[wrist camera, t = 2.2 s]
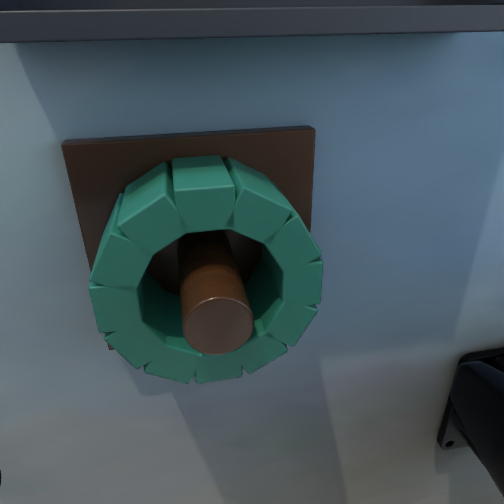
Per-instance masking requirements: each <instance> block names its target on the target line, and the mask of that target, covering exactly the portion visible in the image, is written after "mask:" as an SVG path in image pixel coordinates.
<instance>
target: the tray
mask: <svg viewBox="0 0 504 504" xmlns="http://www.w3.org/2000/svg"><path fill="white" fill-rule="evenodd" d="M495 31H504V0H0V43H25V42H68V41H111V40H153V39H196V38H239V37H282V36H324V35H367V34H410V33H453V32H495Z"/></svg>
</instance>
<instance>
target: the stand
mask: <svg viewBox="0 0 504 504" xmlns="http://www.w3.org/2000/svg"><path fill="white" fill-rule="evenodd" d="M61 147H62V151H63V155H64V160H65V164H66V168H67V173H68V177H69V181H70V185H71V190H72V194H73V198H74V203H75V207H76V211H77V215H78V220H79V224H80V228H81V232H82V237H83V241H84V245H85V250H86V254H87V258H88V262H89V267H90V271H91V272H92V268H93V265H94V262H95V258H96V255H97V252H98V248H99V245H100V242H101V238H102V235H103V232H104V229H105V227H106V225H107V222H108V220H109V218H110V215H111V213H112V211H113V208H114V206H115V204H116V201H117V199H118V197H119V194H120V193H122V194H124V193H125V189H126V187H127V186H128V185H130V184H131V183H132V182H134V181H135V180H137V179H138V178H140V177H141V176H143V175H144V174H146V173H147V172H149V171H150V170H152V169H153V168H155V167H156V166H158V165H159V164H161V163H162V162H166V163H167V164H168V166H169V167H170V168H171V170H172V159H173V158H183V157H198V156H212V155H220V156H221V158H222V160H223V163H224V162H225V160H226V158H227V157H230V158H232V159H234V160H236V161H238V162H240V163H242V164H244V165H246V166H248V167H250V168H252V169H254V170H256V171H258V172H260V173H262V174H264V175H266V176H267V177H268V178H269V179H270V181H271V182H272V181H273V182H274V183H275V184H276V186H277V187H278V188H279V190H280V191H281V192H282V194H283V195H284V196H285V198H286V199H287V200H288V201H289V203H290V204H291V205H292V207H293V208H294V209H295V211H296V212H297V213H298V215H299V216H300V218H301V219H302V221H303V223H304V224H305V226H306V228H307V229H308V231H309V233H310V228H311V208H312V189H313V169H314V149H315V129H314V128H313V127H311V126H293V127H276V128H259V129H242V130H225V131H208V132H191V133H174V134H158V135H141V136H124V137H107V138H90V139H73V140H65V141H64V142H63V143H62V144H61ZM261 257H262V243H260V242H258V241H256V240H253V239H251V238H249V237H246V236H244V235H241V234H239V233H237V232H234V231H232V230H230V229H225V230H214V231H204V232H194V233H186V234H184V235H183V236H181V237H180V238H178V239H177V240H175V241H174V242H172V243H171V244H169V245H168V246H166V247H165V248H163V249H161V250H160V251H158V252H157V253H155V254H154V255H153V256H152V258H151V261H150V263H149V265H148V267H147V269H146V270H147V271H148V273H149V274H150V275H151V276H152V277H153V278H154V279H155V280H156V281H157V282H158V283H159V285H160V286H161V287H162V288H163V289H164V290H165V291H167V292H170V293H173V294H176V295H179V296H180V298H181V313H182V327H183V335H184V337H185V339H186V341H187V342H188V344H189V345H190V346H191V347H192V348H194V349H195V350H197V351H199V352H201V353H204V354H208V355H222V354H226V353H230V352H232V351H234V350H236V349H238V348H239V347H241V346H242V345H243V344H244V343H245V342H246V341H247V340H248V339H249V337H250V335H251V334H252V331H253V327H254V317H253V313H252V310H251V307H250V304H249V301H248V298H247V295H246V292H245V289H244V286H243V284H244V283H246V282H247V281H248V279H249V278H250V276H251V274H252V273H253V271H254V269H255V268H256V266H257V264H258V263H259V261H260V259H261ZM107 344H108V343H107ZM108 348H109V350H113V349H114V348H113V347H112V346H110V345H109V344H108Z"/></svg>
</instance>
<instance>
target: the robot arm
mask: <svg viewBox="0 0 504 504" xmlns="http://www.w3.org/2000/svg"><path fill="white" fill-rule="evenodd" d="M437 442H438V444H439V445H440V447H441V448H442V449H443V450H450V449H455V448H460V447H465V446H470V448H471V449H472V450H473V452H474V453H475V454H476V456H477V457H478V458H479V460H480V461H481V462H482V464H483V465H484V466H485V468H486V469H487V470H488V472H489V474H490V476H491V477H492V479H493V481H494V482H495V484H496V486H497V487H498V489H499V490H500V492H501V493H502V495H503V497H504V348H498V349H492V350H485V351H479V352H473V353H468V354H466V355H464V356H463V357H462V358H461V359H460V360H459V362H458V366H457V369H456V373H455V376H454V380H453V384H452V387H451V391H450V394H449V398H448V401H447V405H446V409H445V412H444V416H443V419H442V423H441V426H440V430H439V433H438V437H437ZM0 485H1V470H0Z"/></svg>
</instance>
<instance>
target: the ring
mask: <svg viewBox="0 0 504 504" xmlns="http://www.w3.org/2000/svg"><path fill="white" fill-rule="evenodd" d="M225 229H230V230H232V231H234V232H237V233H239V234H241V235H244V236H246V237H249V238H251V239H253V240H256V241H258V242H260V243H262V257H261V259H260V261H259V263H258V264H257V266H256V268H255V269H254V271H253V273H252V274H251V276H250V278H249V279H248V281H247V282H246V283H244V284H243V286H244V289H245V292H246V295H247V298H248V301H249V304H250V307H251V310H252V313H253V317H254V327H253V331H252V334H251V335H250V337H249V339H248V340H247V341H246V342H245V343H244V344H243V345H242V346H241V347H239V348H238V349H236V350H234V351H232V352H230V353H226V354H222V355H208V354H204V353H201V352H199V351H197V350H195V349H194V348H192V347H191V346H190V345H189V344H188V342H187V341H186V339H185V337H184V335H183V327H182V313H181V298H180V296H179V295H176V294H173V293H170V292H167V291H165V290H164V289H163V288H162V287H161V286H160V285H159V283H158V282H157V281H156V280H155V279H154V278H153V277H152V276H151V275H150V274H149V273H148V271H147V270H146V269H147V267H148V265H149V263H150V261H151V258H152V256H153V255H154V254H155V253H157V252H158V251H160V250H161V249H163V248H165V247H166V246H168V245H169V244H171V243H172V242H174V241H175V240H177V239H178V238H180V237H181V236H183V235H184V234H186V233H194V232H204V231H214V230H225ZM320 256H321V251H320V249H319V248H318V246H317V244H316V243H315V241H314V239H313V238H312V236H311V234H310V233H309V231H308V229H307V228H306V226H305V224H304V223H303V221H302V219H301V218H300V216H299V215H298V213H297V212H296V211H295V209H294V208H293V207H292V205H291V204H290V203H289V201H288V200H287V199H286V198H285V196H284V195H283V194H282V192H281V191H280V190H279V188H278V187H277V186H276V184H275V183H274V182H273V181H272V182H271V181H270V179H269V178H268V177H267V176H266V175H264V174H262V173H260V172H258V171H256V170H254V169H252V168H250V167H248V166H246V165H244V164H242V163H240V162H238V161H236V160H234V159H232V158H230V157H227V158H226V160H225V162H224V163H223V160H222V158H221V156H220V155H212V156H198V157H183V158H173V159H172V170H171V168H170V167H169V166H168V164H167V163H166V162H162V163H161V164H159V165H158V166H156V167H155V168H153V169H152V170H150V171H149V172H147V173H146V174H144V175H143V176H141V177H140V178H138V179H137V180H135V181H134V182H132V183H131V184H130V185H128V186H127V187H126V189H125V193H124V194H122V193H120V194H119V197H118V199H117V201H116V204H115V206H114V208H113V211H112V213H111V215H110V218H109V220H108V222H107V225H106V227H105V229H104V232H103V235H102V238H101V242H100V245H99V248H98V252H97V255H96V258H95V262H94V265H93V268H92V272H91V275H90V278H89V280H90V281H91V282H90V286H89V293H90V297H91V301H92V305H93V309H94V313H95V317H96V322H97V326H98V330H99V332H100V333H105V334H104V340H105V341H106V342H107V343H108V344H109V345H110V346H112V347H113V348H114V349H115V350H116V351H117V352H118V353H119V354H120V355H122V356H123V357H124V358H125V359H126V360H127V361H128V362H129V363H130V364H132V365H133V366H134V367H135V368H136V369H139V368H141V367H142V366H144V372H145V373H147V374H151V375H155V376H159V377H163V378H167V379H171V380H175V381H179V382H183V383H186V384H189V383H190V381H191V379H192V378H193V376H194V374H195V381H196V383H197V384H201V383H207V382H213V381H220V380H226V379H233V378H239V377H242V374H243V373H242V367H243V368H244V369H245V370H246V371H247V372H248V373H249V374H251V373H253V372H254V371H256V370H258V369H259V368H261V367H263V366H264V365H266V364H268V363H269V362H271V361H273V360H274V359H276V358H278V357H279V356H281V355H283V354H284V353H286V352H287V346H286V344H287V345H290V346H294V345H295V344H296V343H297V341H298V340H299V338H300V337H301V335H302V334H303V332H304V331H305V329H306V328H307V326H308V325H309V323H310V322H311V320H312V319H313V318H314V316H315V315H316V313H317V311H318V309H317V308H316V306H315V305H316V304H320V301H321V287H322V273H323V261H322V259H321V258H320Z"/></svg>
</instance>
